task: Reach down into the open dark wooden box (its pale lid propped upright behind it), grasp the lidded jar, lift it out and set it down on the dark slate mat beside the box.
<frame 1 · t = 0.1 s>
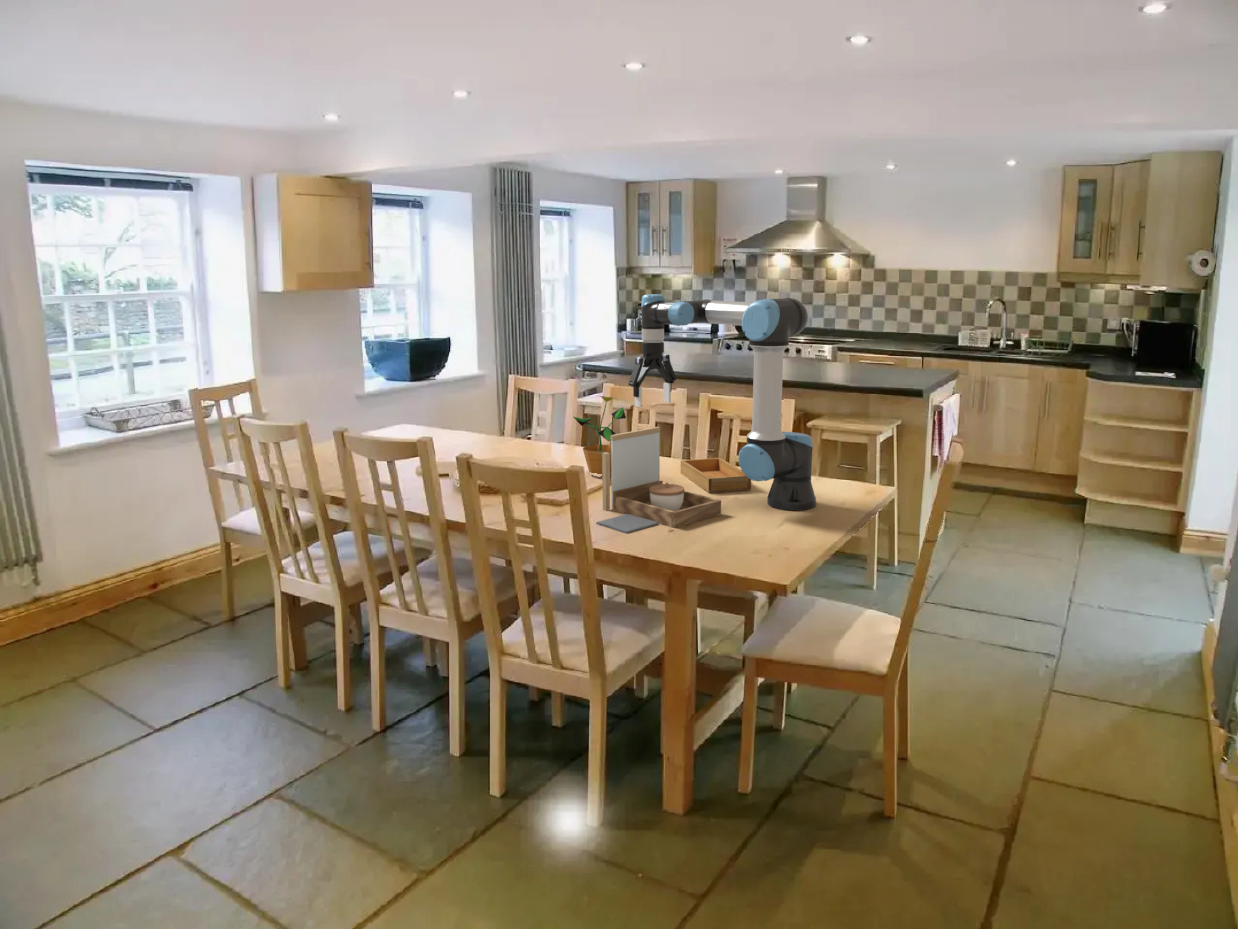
hand: (652, 404, 314), 28 cm above the table, fingers open, 13 cm apart
lidded jar: (666, 513, 286), resting in dark wooden box
dark wooden box: (666, 512, 286), on the table
tray: (714, 483, 324), on the table
potted plant: (600, 475, 335), on the table
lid: (636, 503, 296), on the table
slate mat: (627, 524, 274), on the table
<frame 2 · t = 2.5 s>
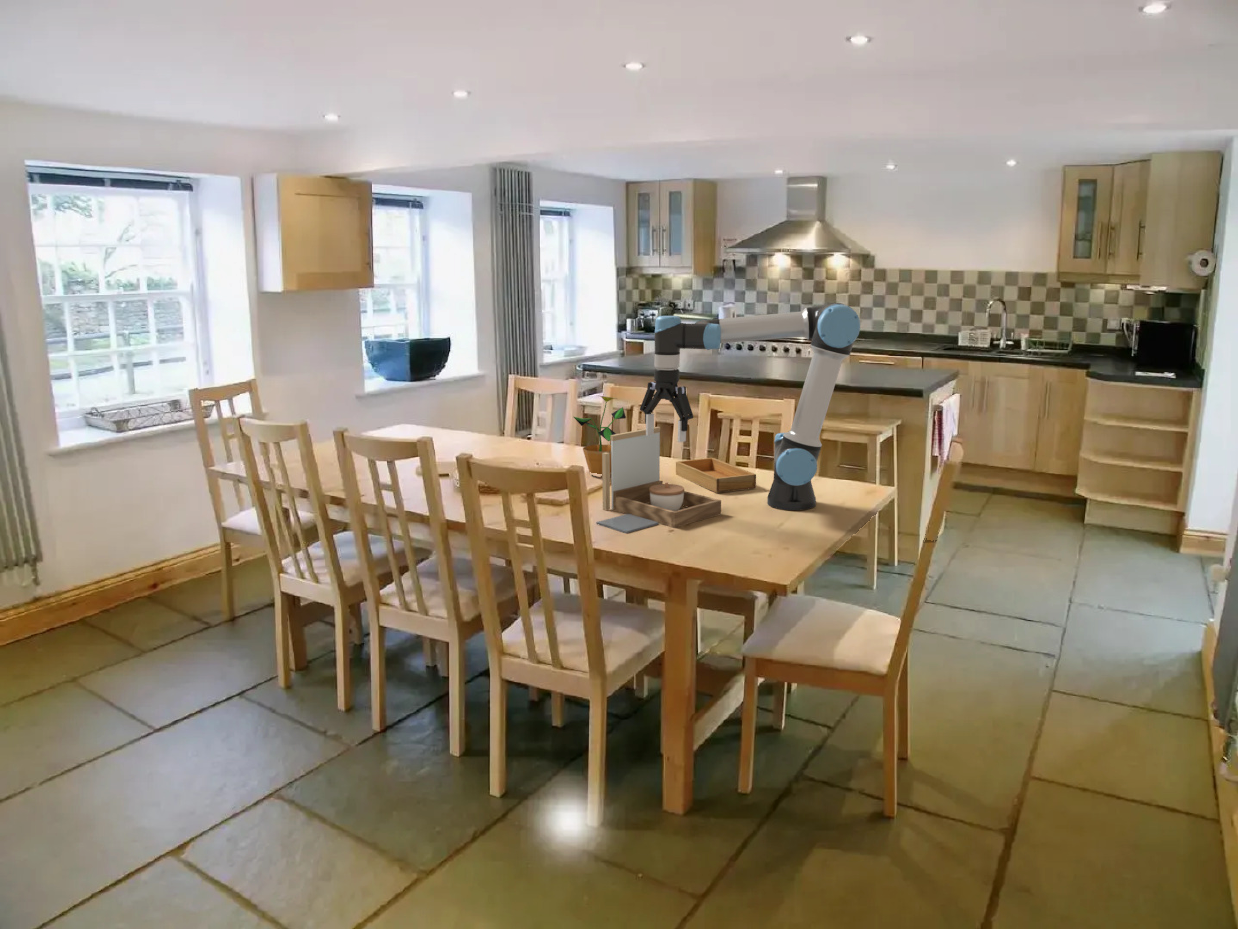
hand: (665, 438, 281), 23 cm above the table, fingers open, 13 cm apart
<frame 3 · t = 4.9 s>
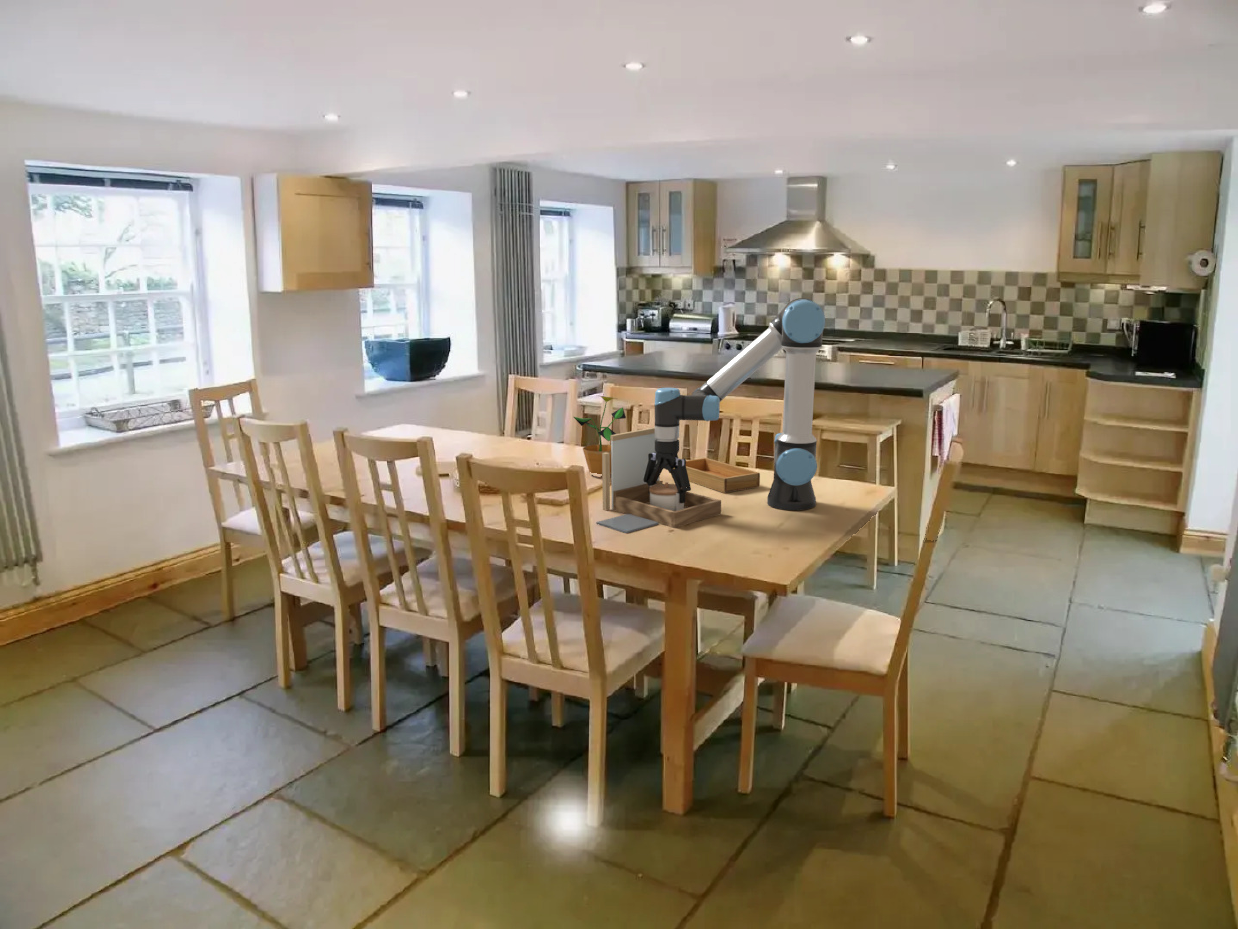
hand: (666, 509, 286), 1 cm above the table, fingers closed on lidded jar, 11 cm apart
lidded jar: (666, 512, 286), resting in dark wooden box, touching gripper
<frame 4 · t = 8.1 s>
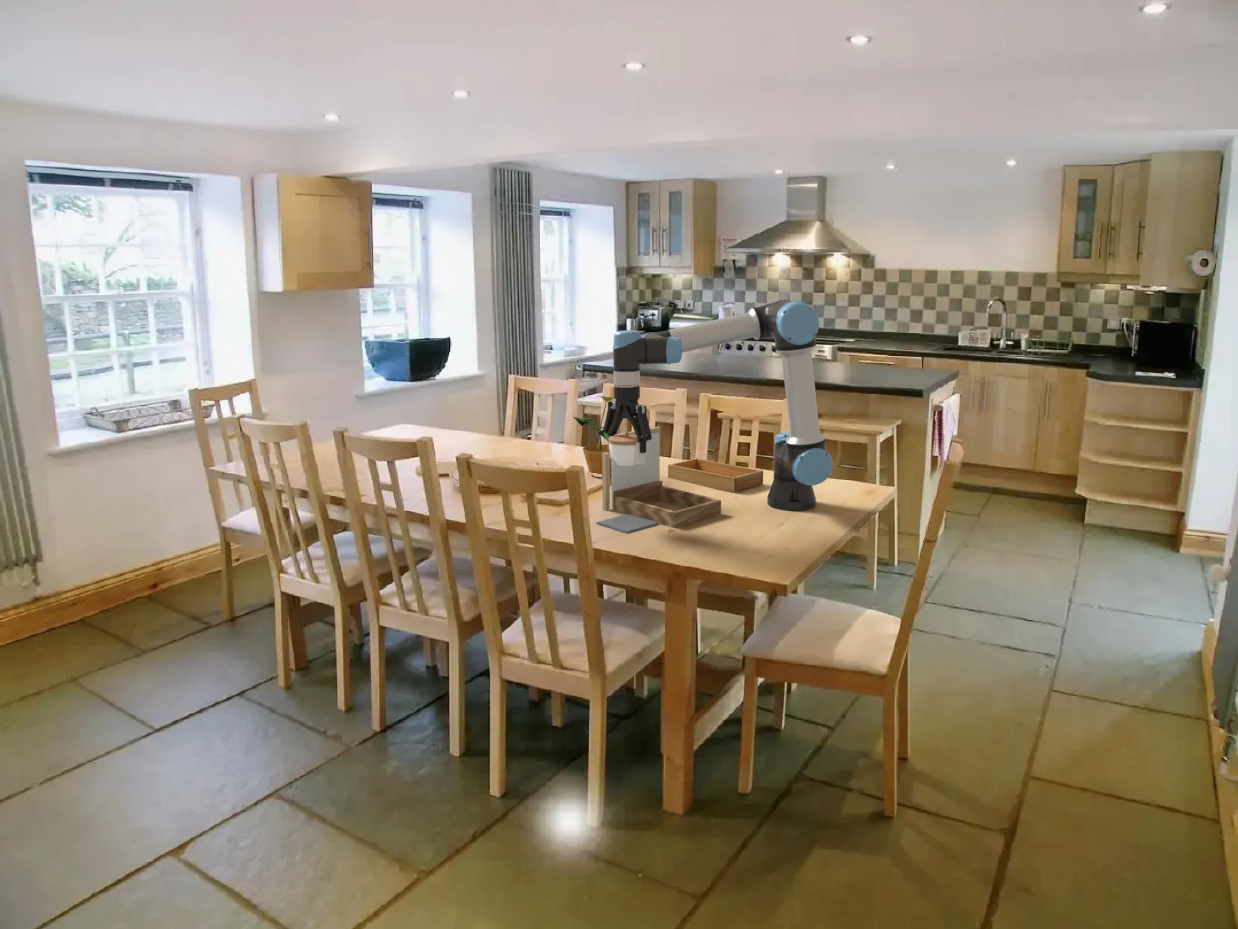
hand: (627, 460, 270), 19 cm above the table, fingers closed on lidded jar, 11 cm apart
lidded jar: (627, 464, 270), point 18 cm above the table, touching gripper
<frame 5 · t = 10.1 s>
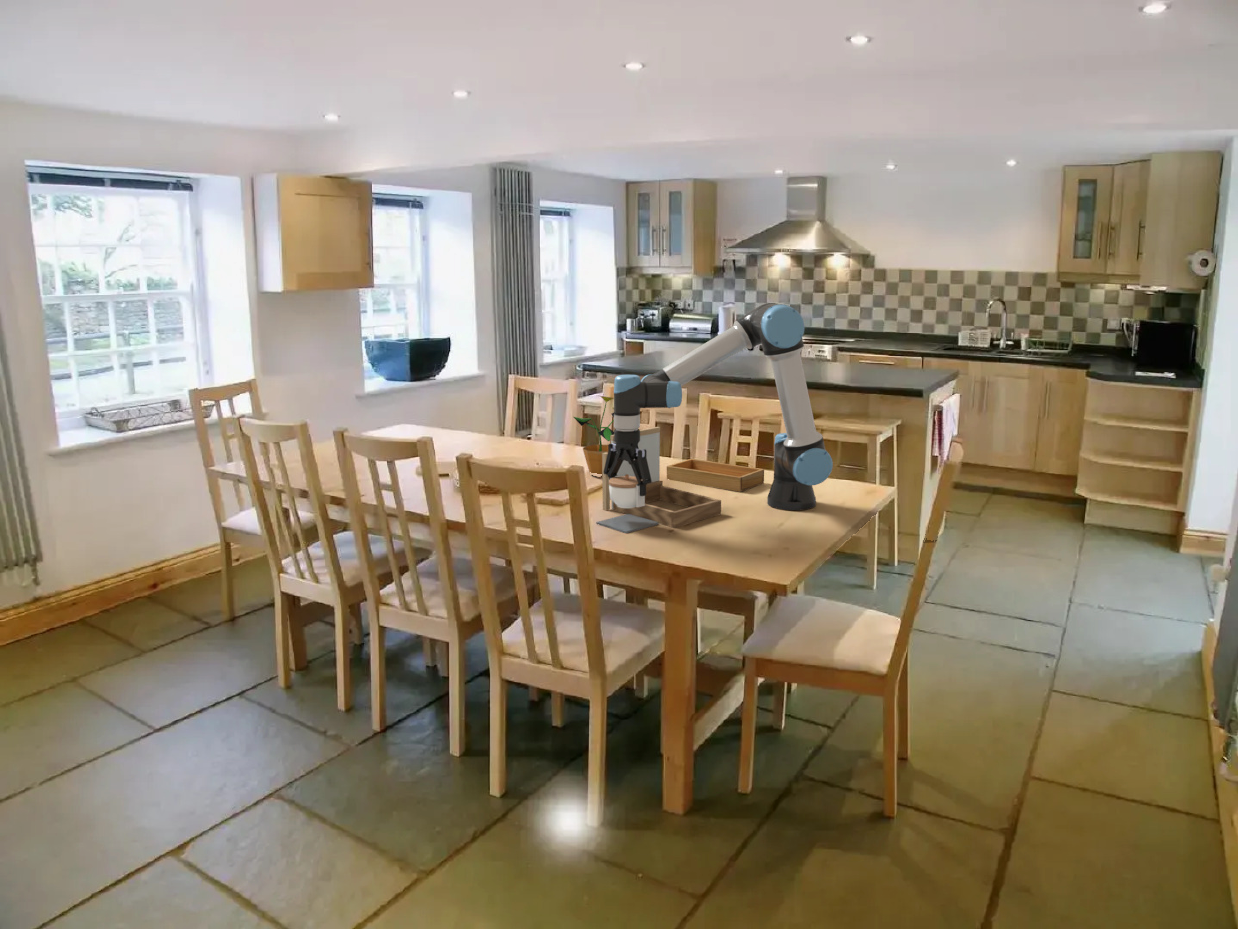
hand: (627, 502, 272), 7 cm above the table, fingers closed on lidded jar, 11 cm apart
lidded jar: (627, 506, 273), point 5 cm above the table, touching gripper
when the fingers open (3 cm above the table, at t = 11.6 s): lidded jar drops 1 cm, resting on slate mat.
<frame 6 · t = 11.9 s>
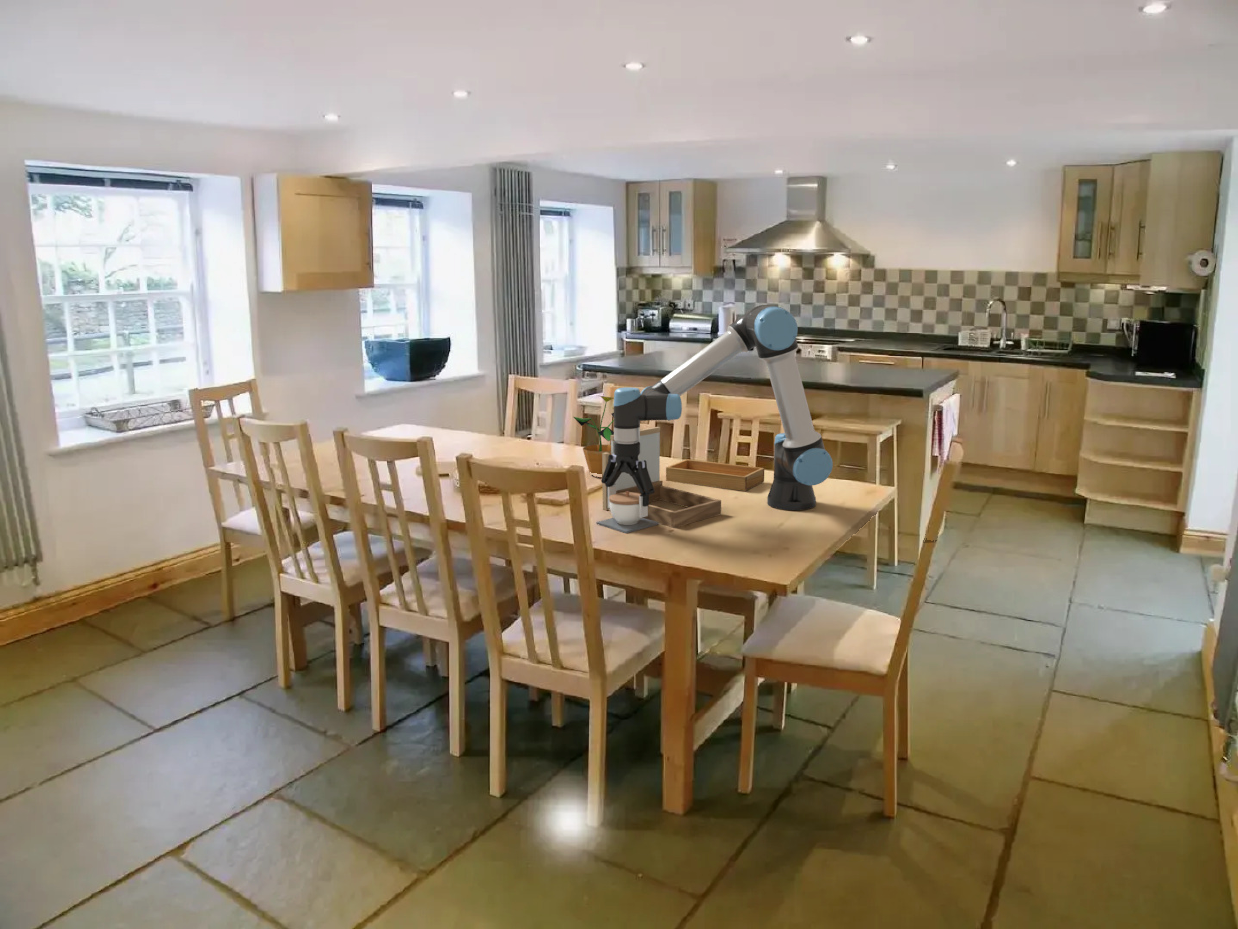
hand: (627, 512, 273), 4 cm above the table, fingers open, 13 cm apart
lidded jar: (627, 522, 274), resting on slate mat
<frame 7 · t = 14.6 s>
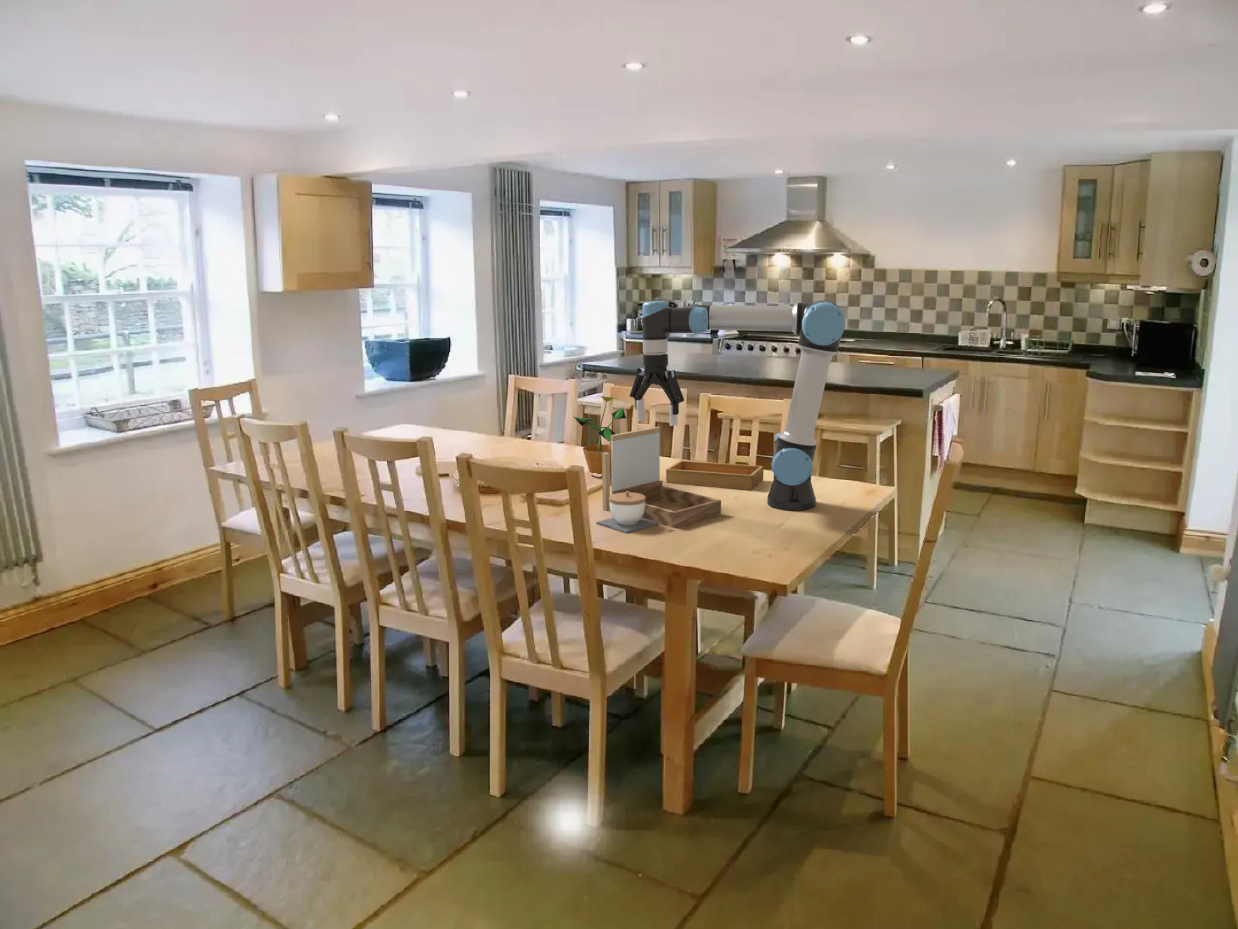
hand: (656, 423, 283), 27 cm above the table, fingers open, 13 cm apart
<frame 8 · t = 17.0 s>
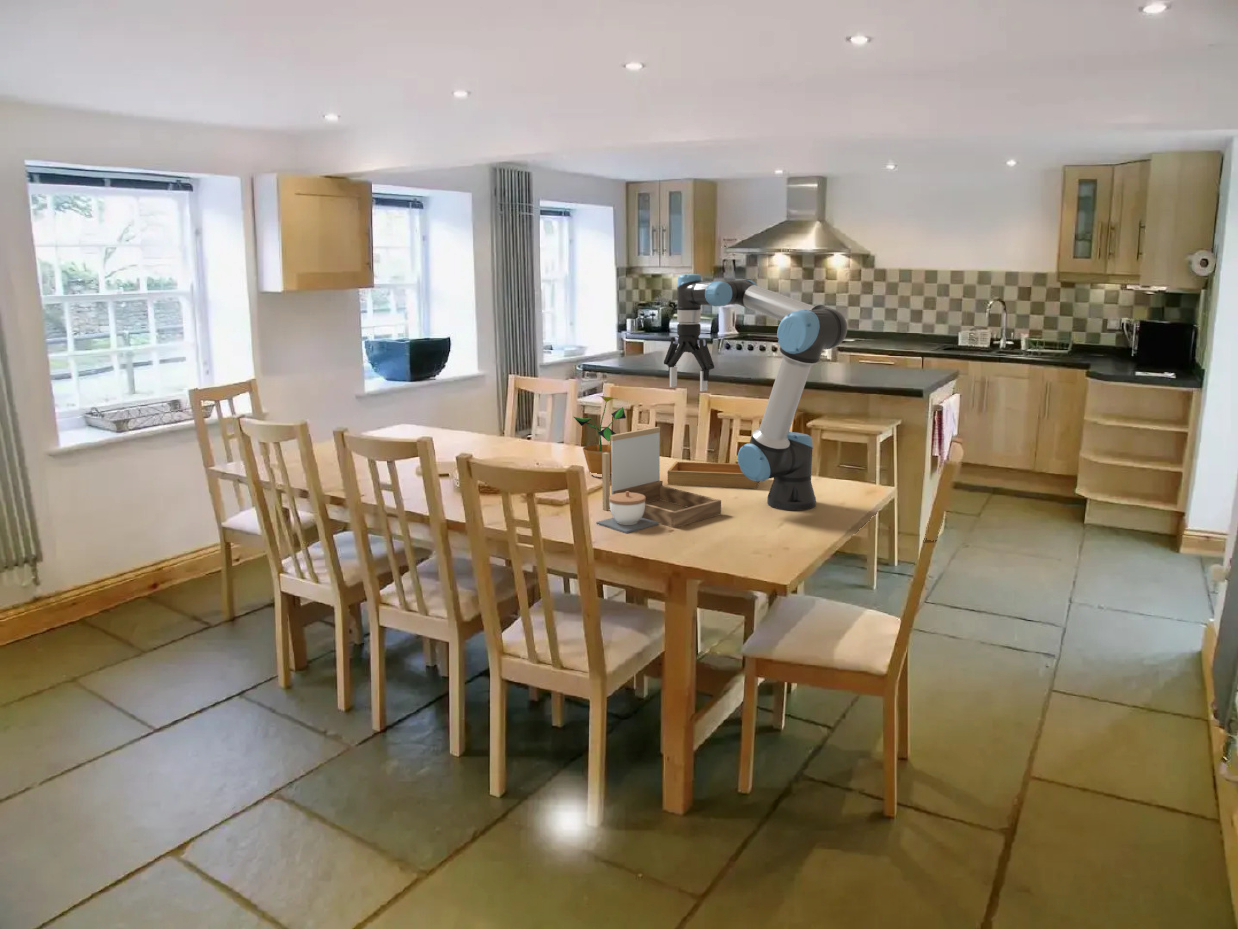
hand: (688, 388, 303), 35 cm above the table, fingers open, 13 cm apart
at the end: lidded jar inside the target area on the slate mat (0.0 cm from its centre), point 0.4 cm above the slate mat's base; lidded jar tilted 0°; the gripper is holding nothing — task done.
